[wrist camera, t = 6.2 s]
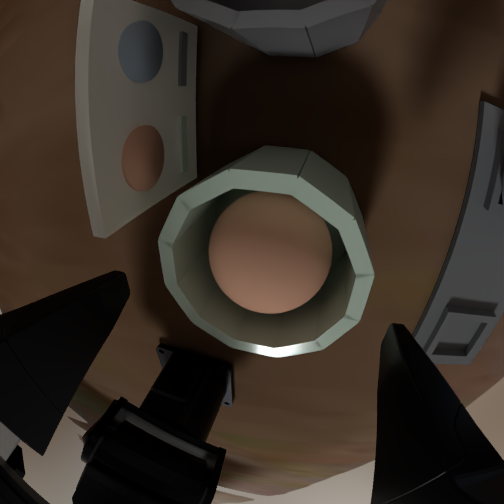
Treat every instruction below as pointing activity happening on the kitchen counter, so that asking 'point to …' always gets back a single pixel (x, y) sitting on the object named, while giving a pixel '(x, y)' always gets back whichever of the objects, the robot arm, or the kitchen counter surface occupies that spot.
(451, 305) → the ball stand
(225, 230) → the ball terracotta
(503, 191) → the ball slate
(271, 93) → the kitchen counter surface
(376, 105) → the kitchen counter surface
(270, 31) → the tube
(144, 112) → the dot card
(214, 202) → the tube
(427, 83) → the kitchen counter surface
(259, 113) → the kitchen counter surface
